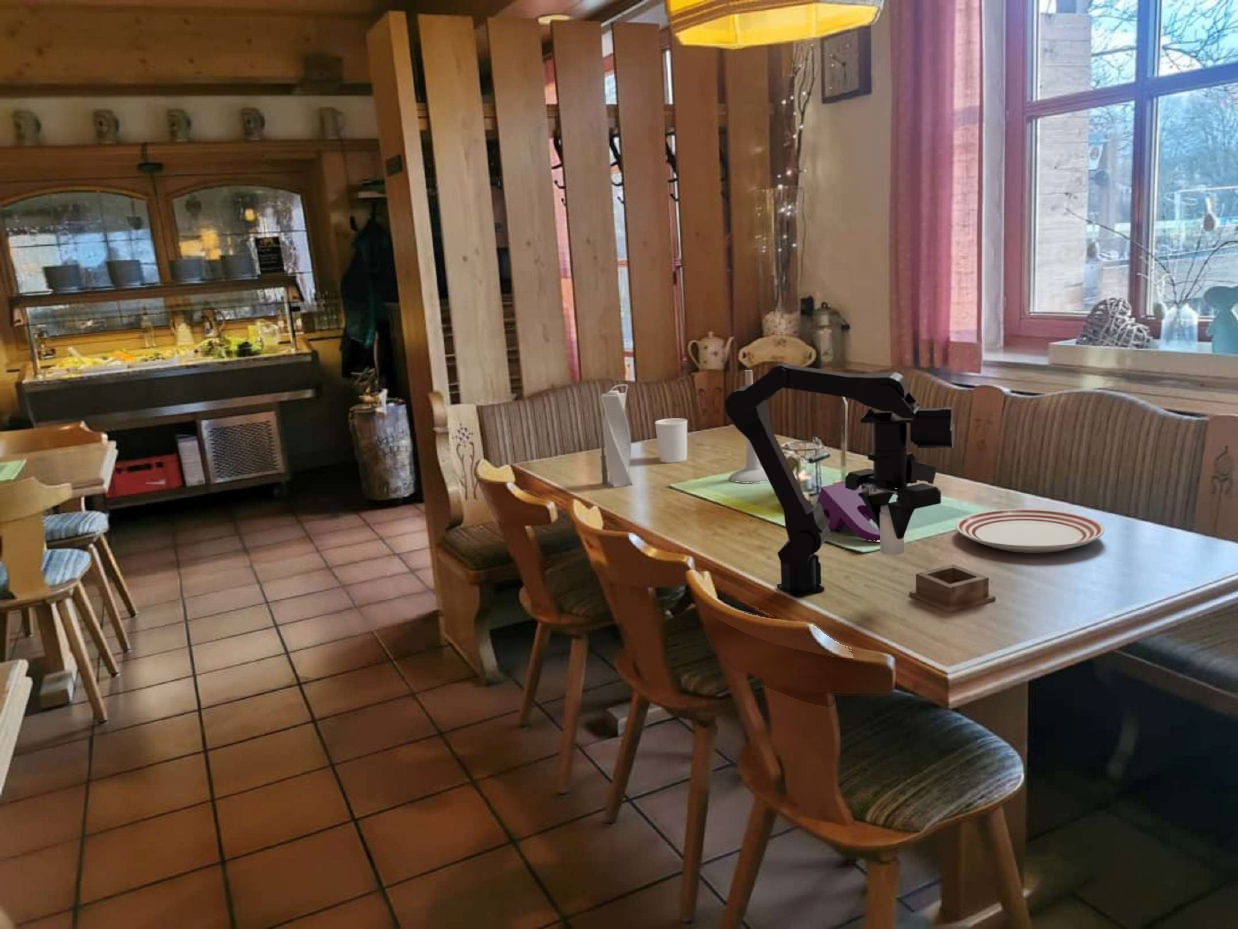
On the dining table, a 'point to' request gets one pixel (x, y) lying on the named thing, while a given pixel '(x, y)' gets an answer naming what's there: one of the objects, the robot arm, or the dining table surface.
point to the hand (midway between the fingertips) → (891, 535)
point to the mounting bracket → (847, 510)
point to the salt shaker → (889, 534)
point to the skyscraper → (616, 440)
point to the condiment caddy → (952, 588)
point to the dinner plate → (1030, 530)
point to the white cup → (672, 439)
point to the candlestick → (750, 455)
